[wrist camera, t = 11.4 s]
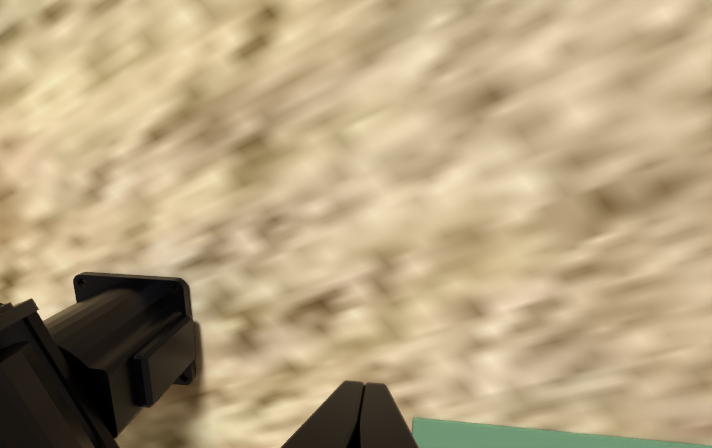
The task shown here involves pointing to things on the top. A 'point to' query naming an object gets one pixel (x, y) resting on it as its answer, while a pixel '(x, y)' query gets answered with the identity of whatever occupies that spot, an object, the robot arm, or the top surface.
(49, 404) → the robot arm
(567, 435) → the green mat
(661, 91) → the top surface
